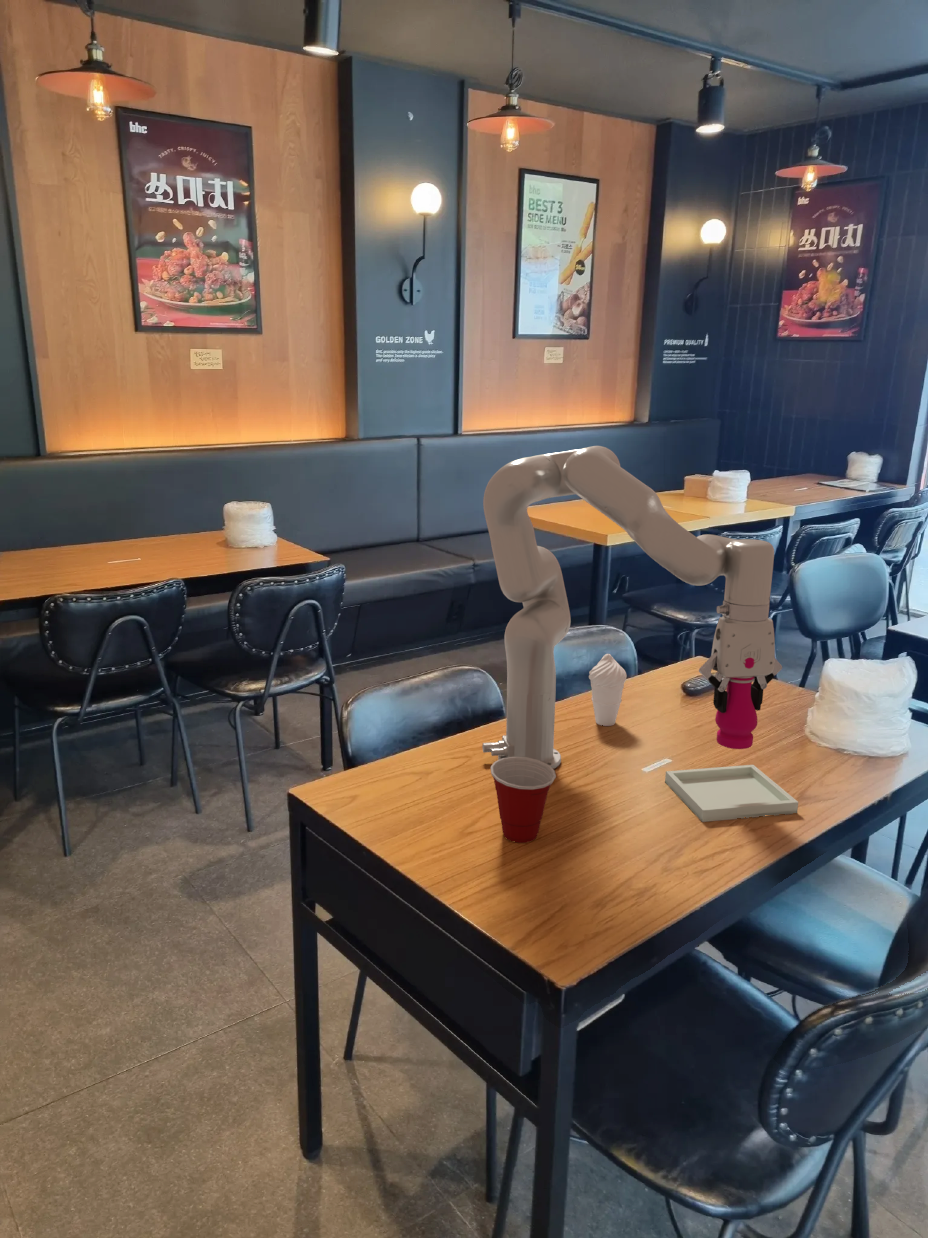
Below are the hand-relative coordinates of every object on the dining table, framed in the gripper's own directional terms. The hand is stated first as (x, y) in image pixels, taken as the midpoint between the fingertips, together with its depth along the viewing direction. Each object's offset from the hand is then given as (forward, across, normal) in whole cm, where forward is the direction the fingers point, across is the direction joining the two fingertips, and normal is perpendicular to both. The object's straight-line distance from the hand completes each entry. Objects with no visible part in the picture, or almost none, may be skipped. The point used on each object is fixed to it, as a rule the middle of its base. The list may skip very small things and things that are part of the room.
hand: (737, 708), depth 156 cm
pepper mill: (+7, 0, 0) cm, 7 cm away
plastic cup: (+18, -41, -7) cm, 45 cm away
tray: (+17, 0, 0) cm, 17 cm away
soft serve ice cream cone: (+18, -10, +39) cm, 44 cm away
